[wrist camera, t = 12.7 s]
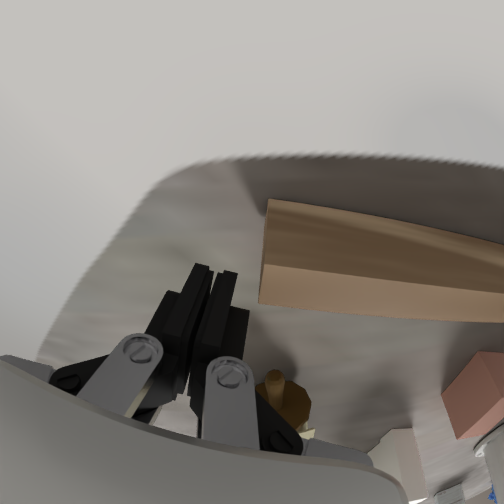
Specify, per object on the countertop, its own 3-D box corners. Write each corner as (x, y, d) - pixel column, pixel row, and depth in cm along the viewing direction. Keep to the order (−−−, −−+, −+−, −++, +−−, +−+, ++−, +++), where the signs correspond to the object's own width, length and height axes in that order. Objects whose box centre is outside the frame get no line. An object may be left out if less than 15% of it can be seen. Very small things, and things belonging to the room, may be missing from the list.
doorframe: (553, 257, 15) (616, 323, 7) (379, 464, 30) (387, 520, 22) (527, 241, 14) (602, 318, 7) (347, 466, 30) (352, 525, 22)
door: (530, 270, 16) (576, 322, 10) (264, 225, 16) (257, 304, 10) (538, 252, 15) (587, 302, 9) (268, 195, 15) (264, 262, 9)
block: (503, 352, 20) (526, 394, 15) (468, 393, 23) (485, 434, 18) (477, 350, 20) (502, 397, 15) (440, 394, 22) (456, 439, 18)
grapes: (481, 486, 52) (487, 512, 42) (498, 476, 50) (505, 503, 39) (487, 485, 55) (493, 509, 45) (503, 476, 52) (509, 500, 42)
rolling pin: (233, 348, 20) (224, 407, 16) (315, 341, 20) (321, 402, 15) (281, 485, 35) (280, 513, 31) (318, 483, 34) (319, 511, 30)
